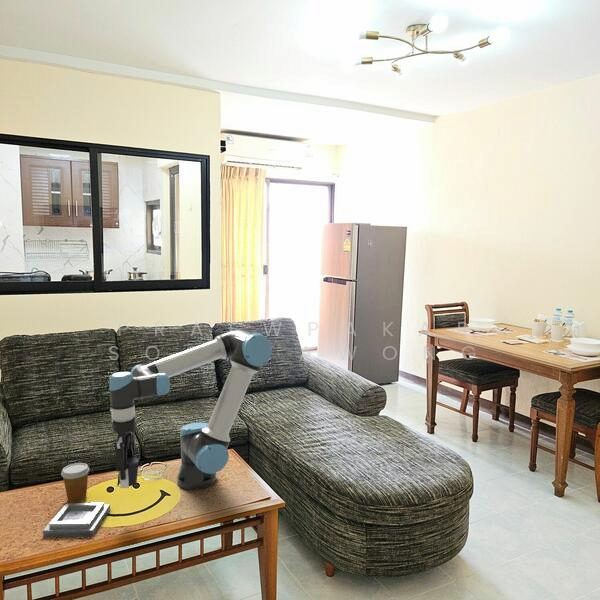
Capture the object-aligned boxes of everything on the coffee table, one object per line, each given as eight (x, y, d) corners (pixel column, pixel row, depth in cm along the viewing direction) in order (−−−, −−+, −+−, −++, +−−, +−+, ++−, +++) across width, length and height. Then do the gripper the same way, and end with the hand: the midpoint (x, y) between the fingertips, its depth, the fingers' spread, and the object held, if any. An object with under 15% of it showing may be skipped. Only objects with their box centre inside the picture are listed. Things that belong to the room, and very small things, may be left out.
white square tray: (110, 509, 182) (109, 500, 182) (92, 535, 166) (92, 525, 166) (64, 510, 182) (64, 500, 181) (43, 536, 166) (42, 526, 165)
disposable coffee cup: (87, 489, 196) (85, 460, 195) (93, 500, 189) (92, 469, 187) (60, 497, 191) (58, 466, 189) (66, 508, 183) (64, 476, 182)
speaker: (111, 486, 173) (112, 457, 172) (119, 479, 179) (120, 450, 178) (132, 489, 172) (134, 460, 171) (139, 482, 178) (141, 453, 177)
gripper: (121, 408, 182) (125, 470, 185) (102, 429, 163) (107, 497, 166) (142, 408, 182) (146, 469, 185) (125, 428, 163) (130, 496, 166)
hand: (127, 482), depth 176 cm, fingers closed on speaker, 6 cm apart
